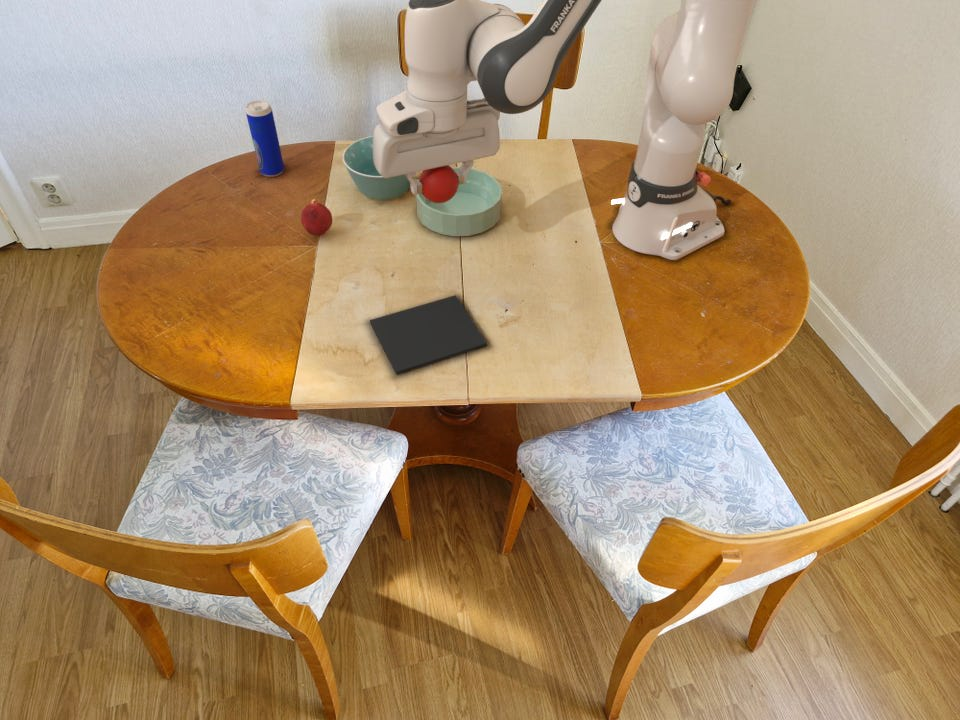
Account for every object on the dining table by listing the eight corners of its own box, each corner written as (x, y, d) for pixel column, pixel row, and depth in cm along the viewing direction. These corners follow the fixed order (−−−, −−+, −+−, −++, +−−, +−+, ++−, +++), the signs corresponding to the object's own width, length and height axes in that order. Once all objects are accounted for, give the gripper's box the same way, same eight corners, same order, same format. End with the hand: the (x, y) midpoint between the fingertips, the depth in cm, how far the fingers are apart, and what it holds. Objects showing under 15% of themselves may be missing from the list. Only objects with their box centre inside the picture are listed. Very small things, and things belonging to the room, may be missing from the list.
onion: (328, 246, 132) (322, 211, 127) (300, 241, 133) (292, 207, 127) (338, 228, 136) (333, 193, 130) (310, 224, 137) (304, 189, 131)
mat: (455, 298, 123) (455, 295, 123) (486, 346, 115) (487, 342, 115) (370, 323, 118) (369, 319, 118) (396, 375, 110) (396, 371, 110)
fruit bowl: (479, 182, 149) (479, 160, 145) (514, 226, 138) (516, 203, 134) (405, 200, 143) (403, 177, 139) (436, 247, 133) (435, 223, 129)
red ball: (449, 185, 117) (449, 151, 112) (464, 205, 113) (464, 171, 108) (413, 193, 115) (412, 159, 110) (428, 214, 111) (426, 179, 107)
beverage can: (259, 166, 151) (243, 101, 140) (283, 163, 152) (269, 98, 141) (261, 179, 147) (245, 113, 136) (285, 176, 149) (272, 110, 138)
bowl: (412, 215, 140) (410, 179, 134) (337, 206, 141) (332, 171, 135) (428, 173, 151) (427, 138, 145) (358, 165, 152) (354, 131, 146)
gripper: (491, 86, 107) (488, 165, 117) (365, 108, 101) (373, 189, 111) (509, 104, 103) (504, 184, 114) (379, 128, 97) (386, 211, 107)
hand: (438, 187), depth 112 cm, fingers closed on red ball, 6 cm apart
